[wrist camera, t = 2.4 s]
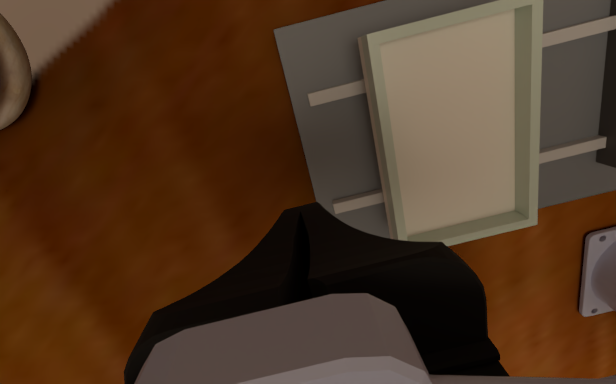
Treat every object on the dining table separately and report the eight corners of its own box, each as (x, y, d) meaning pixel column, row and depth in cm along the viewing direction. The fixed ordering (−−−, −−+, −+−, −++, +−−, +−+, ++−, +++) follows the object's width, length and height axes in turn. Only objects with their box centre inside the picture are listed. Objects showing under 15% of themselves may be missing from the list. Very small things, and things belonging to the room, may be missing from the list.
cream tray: (501, 1, 17) (543, -12, 14) (504, 204, 22) (537, 224, 19) (353, 39, 17) (366, 34, 15) (386, 233, 22) (401, 257, 19)
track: (662, -71, 18) (716, -90, 16) (628, 180, 23) (664, 192, 21) (273, 31, 18) (272, 26, 16) (329, 252, 24) (334, 272, 22)
